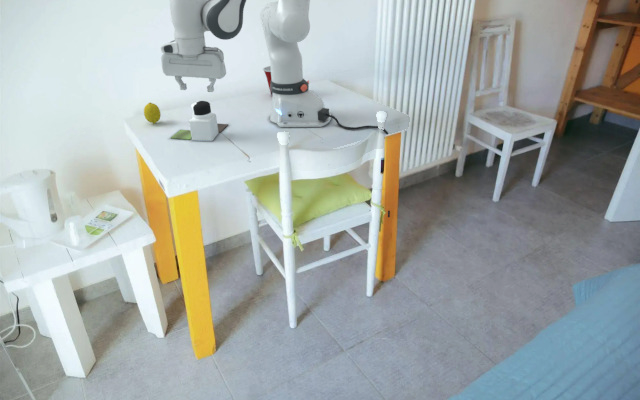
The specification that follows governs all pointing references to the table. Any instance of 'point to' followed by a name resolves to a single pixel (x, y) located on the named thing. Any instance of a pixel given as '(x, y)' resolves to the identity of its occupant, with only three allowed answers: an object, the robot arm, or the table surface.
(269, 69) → the plastic cup
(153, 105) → the lemon
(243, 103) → the table surface
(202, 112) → the medicine bottle
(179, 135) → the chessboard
